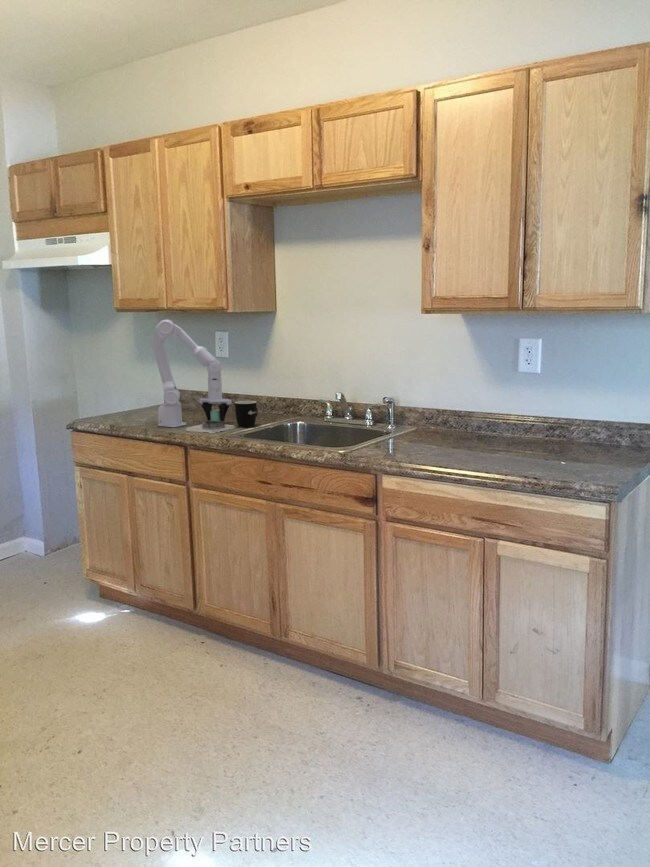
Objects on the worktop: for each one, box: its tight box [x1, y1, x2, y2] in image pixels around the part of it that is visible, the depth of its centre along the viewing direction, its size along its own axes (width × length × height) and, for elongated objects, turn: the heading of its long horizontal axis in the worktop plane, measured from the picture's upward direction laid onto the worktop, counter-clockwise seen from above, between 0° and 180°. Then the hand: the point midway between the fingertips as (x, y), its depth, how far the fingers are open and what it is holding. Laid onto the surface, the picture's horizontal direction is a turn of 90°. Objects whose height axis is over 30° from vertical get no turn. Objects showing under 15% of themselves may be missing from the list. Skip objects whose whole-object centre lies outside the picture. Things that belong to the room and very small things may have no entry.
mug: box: [234, 400, 258, 428], centre depth 301 cm, size 12×9×10 cm
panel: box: [185, 420, 236, 434], centre depth 293 cm, size 14×14×3 cm
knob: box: [210, 409, 222, 422], centre depth 305 cm, size 4×4×6 cm
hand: (216, 420), depth 306 cm, fingers open, 6 cm apart
